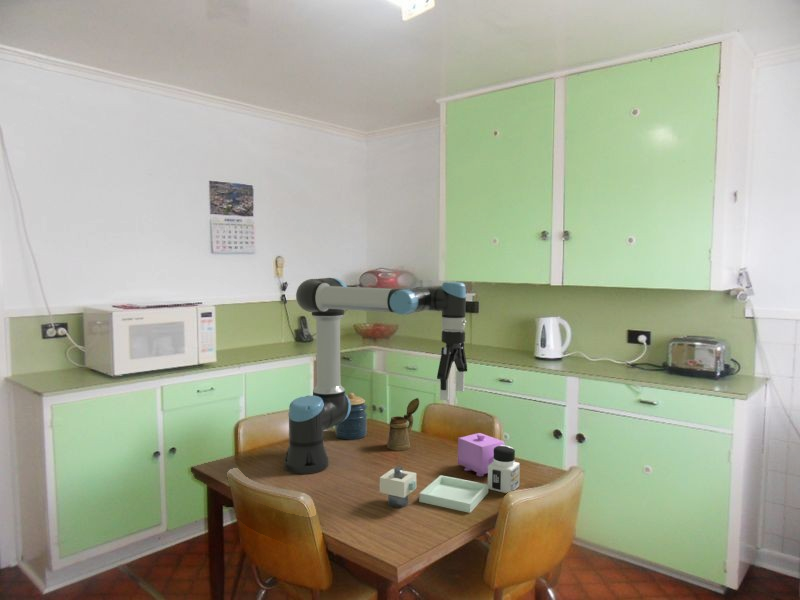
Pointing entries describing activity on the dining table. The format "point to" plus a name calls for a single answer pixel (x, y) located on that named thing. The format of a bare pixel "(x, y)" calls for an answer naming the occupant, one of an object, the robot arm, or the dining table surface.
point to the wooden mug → (402, 428)
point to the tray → (454, 493)
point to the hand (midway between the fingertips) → (452, 395)
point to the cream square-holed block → (398, 483)
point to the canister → (354, 420)
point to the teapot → (477, 452)
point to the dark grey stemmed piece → (395, 500)
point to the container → (503, 470)
